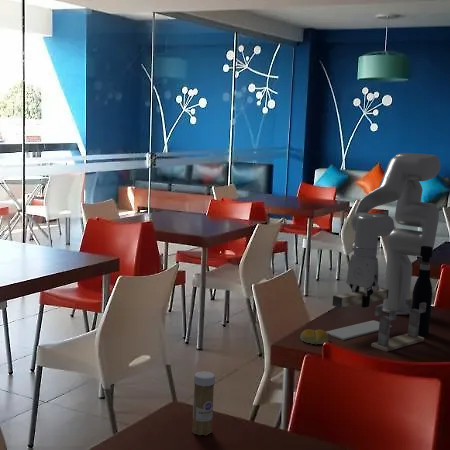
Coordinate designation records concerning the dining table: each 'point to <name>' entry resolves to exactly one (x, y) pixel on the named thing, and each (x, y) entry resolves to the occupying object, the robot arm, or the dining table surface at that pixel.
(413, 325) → the rack
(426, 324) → the wine bottle
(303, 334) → the bread roll
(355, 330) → the mat
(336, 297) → the rail
